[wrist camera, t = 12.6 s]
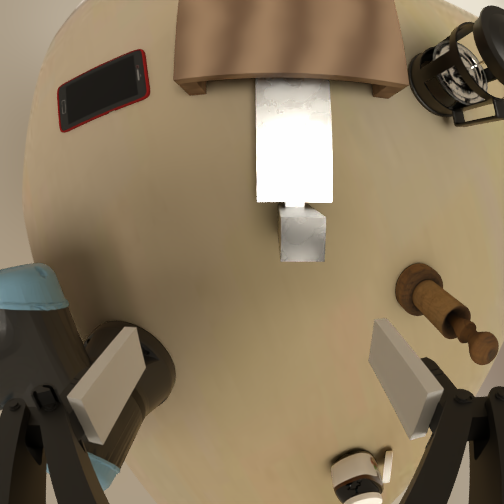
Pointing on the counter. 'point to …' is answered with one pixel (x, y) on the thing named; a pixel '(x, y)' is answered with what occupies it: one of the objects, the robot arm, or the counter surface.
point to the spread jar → (360, 478)
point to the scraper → (295, 160)
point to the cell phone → (103, 90)
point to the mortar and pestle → (443, 311)
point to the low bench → (290, 42)
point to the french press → (463, 69)
